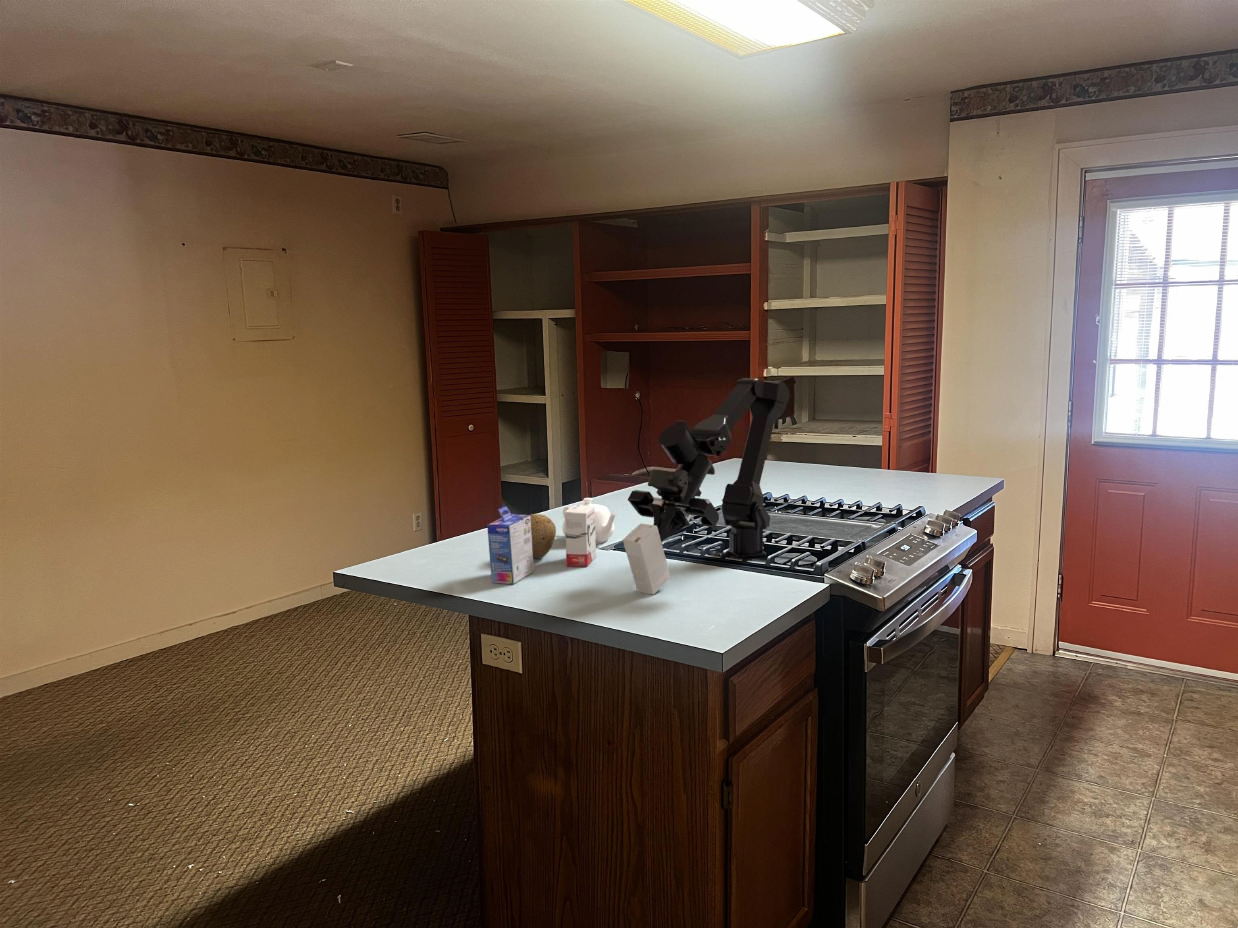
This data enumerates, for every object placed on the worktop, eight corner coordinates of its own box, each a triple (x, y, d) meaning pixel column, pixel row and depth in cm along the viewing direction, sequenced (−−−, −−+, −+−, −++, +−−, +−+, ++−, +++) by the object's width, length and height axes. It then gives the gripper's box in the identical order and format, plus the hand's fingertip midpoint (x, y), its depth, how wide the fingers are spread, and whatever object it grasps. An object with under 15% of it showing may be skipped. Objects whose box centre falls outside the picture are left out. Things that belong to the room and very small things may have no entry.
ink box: (587, 567, 185) (586, 512, 183) (565, 566, 186) (563, 512, 184) (597, 556, 193) (595, 504, 191) (575, 556, 194) (573, 504, 192)
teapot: (637, 543, 204) (636, 500, 203) (595, 552, 196) (594, 508, 195) (585, 529, 219) (583, 489, 218) (544, 537, 212) (543, 496, 210)
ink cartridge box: (510, 569, 184) (507, 502, 182) (534, 571, 182) (532, 503, 180) (489, 583, 175) (485, 512, 173) (514, 585, 173) (510, 513, 171)
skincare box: (654, 574, 171) (639, 521, 166) (672, 578, 168) (658, 524, 163) (635, 592, 167) (620, 538, 162) (654, 596, 164) (639, 541, 159)
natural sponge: (522, 565, 187) (520, 520, 185) (510, 556, 195) (508, 512, 193) (562, 560, 190) (560, 515, 189) (548, 551, 199) (547, 508, 197)
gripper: (633, 449, 174) (596, 513, 167) (710, 457, 162) (675, 525, 155) (657, 483, 181) (623, 545, 174) (733, 493, 169) (700, 559, 162)
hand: (654, 543), depth 166 cm, fingers closed
